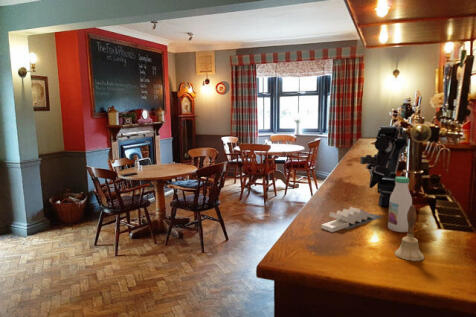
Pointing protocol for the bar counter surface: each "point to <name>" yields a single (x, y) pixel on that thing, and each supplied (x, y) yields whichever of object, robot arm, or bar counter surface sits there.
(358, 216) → the domino
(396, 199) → the milk bottle
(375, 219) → the runner mat
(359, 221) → the domino
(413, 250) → the hand bell
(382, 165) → the robot arm
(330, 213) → the domino
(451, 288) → the bar counter surface
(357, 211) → the domino
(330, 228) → the domino
